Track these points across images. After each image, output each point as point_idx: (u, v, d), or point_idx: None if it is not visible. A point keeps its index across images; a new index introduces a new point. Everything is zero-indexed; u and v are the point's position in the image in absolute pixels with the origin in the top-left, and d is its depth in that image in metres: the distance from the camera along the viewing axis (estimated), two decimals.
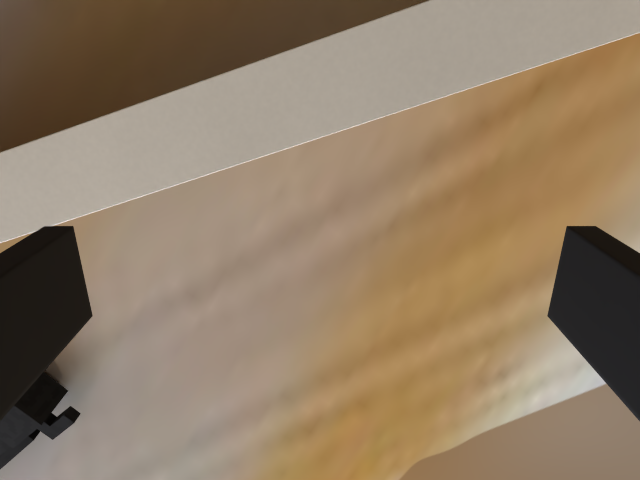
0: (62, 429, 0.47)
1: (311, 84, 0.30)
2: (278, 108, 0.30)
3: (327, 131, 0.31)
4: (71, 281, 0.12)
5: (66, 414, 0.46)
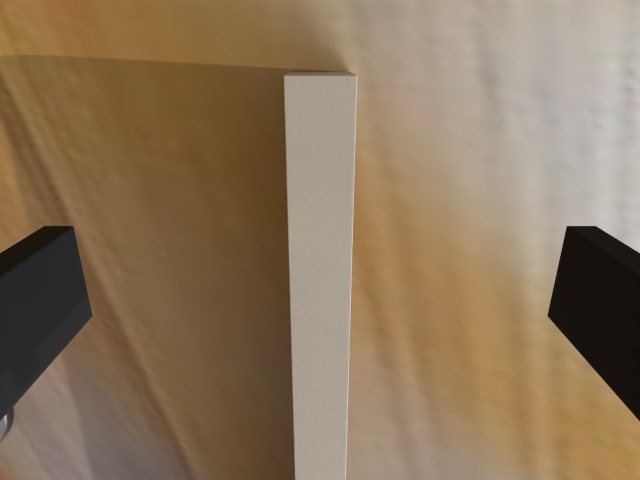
0: None
1: (315, 466, 0.52)
2: None
3: (343, 465, 0.52)
4: (71, 281, 0.12)
5: None
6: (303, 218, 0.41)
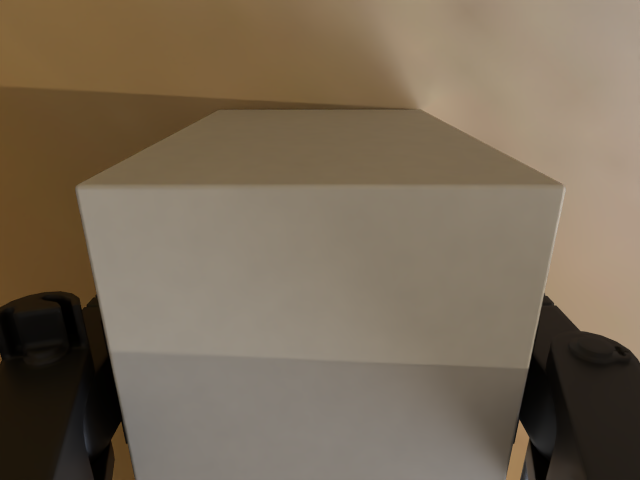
0: None
1: None
2: None
3: None
4: None
5: None
6: None
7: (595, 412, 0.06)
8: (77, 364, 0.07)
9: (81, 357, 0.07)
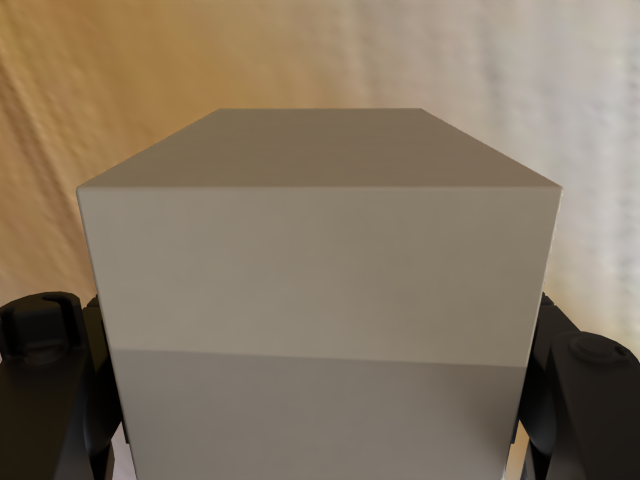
0: None
1: None
2: None
3: None
4: None
5: None
6: None
7: (595, 412, 0.06)
8: (77, 364, 0.07)
9: (81, 357, 0.07)
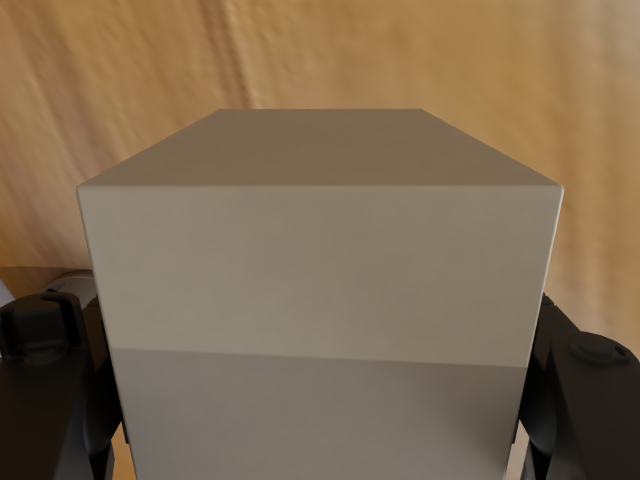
0: None
1: None
2: None
3: None
4: None
5: None
6: None
7: (595, 412, 0.06)
8: (77, 364, 0.07)
9: (81, 357, 0.07)
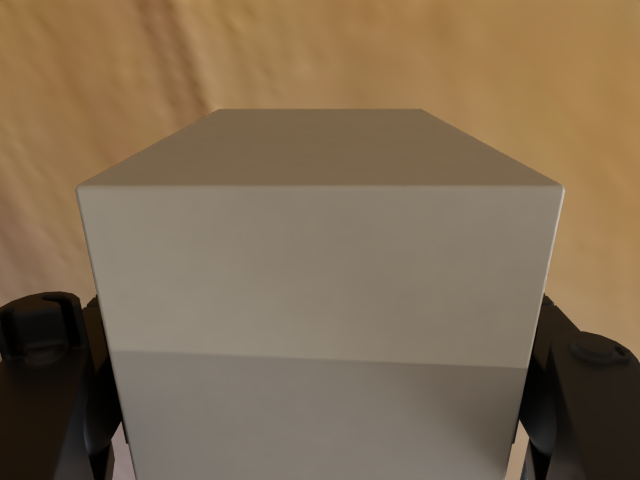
0: None
1: None
2: None
3: None
4: None
5: None
6: None
7: (595, 412, 0.06)
8: (78, 364, 0.07)
9: (82, 357, 0.07)
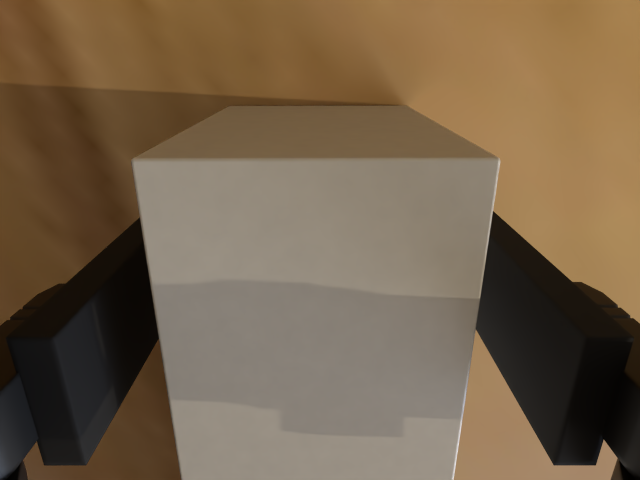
0: None
1: None
2: None
3: None
4: None
5: None
6: None
7: None
8: None
9: None
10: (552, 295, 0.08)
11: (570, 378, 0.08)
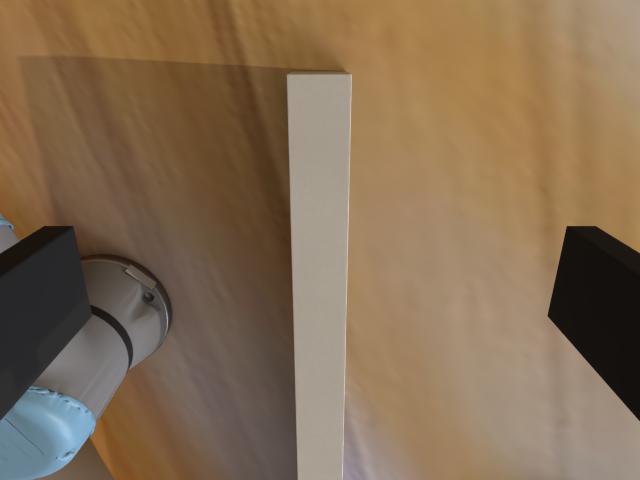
0: None
1: (315, 433, 0.57)
2: (321, 448, 0.58)
3: (341, 432, 0.57)
4: (71, 281, 0.12)
5: None
6: (304, 202, 0.46)
7: None
8: None
9: None
10: None
11: None
